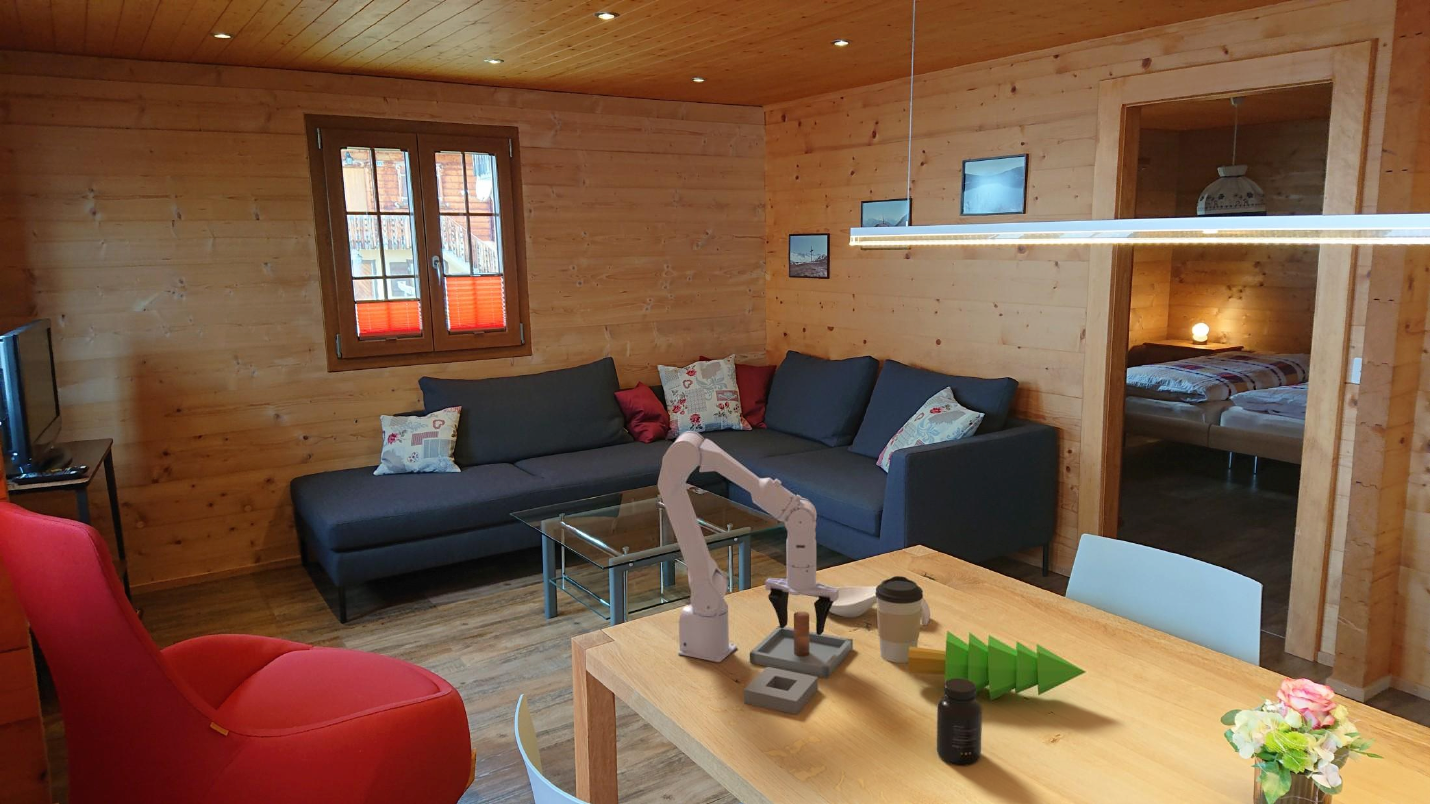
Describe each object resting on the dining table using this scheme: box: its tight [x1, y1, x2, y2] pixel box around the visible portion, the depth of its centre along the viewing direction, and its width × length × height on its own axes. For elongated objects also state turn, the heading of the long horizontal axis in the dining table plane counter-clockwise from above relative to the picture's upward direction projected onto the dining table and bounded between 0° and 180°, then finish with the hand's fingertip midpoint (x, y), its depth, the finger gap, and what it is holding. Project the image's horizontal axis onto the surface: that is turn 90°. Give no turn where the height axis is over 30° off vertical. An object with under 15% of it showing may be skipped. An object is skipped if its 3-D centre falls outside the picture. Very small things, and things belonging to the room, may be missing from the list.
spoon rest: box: [829, 585, 931, 626], centre depth 205 cm, size 24×12×7 cm, turn 68°
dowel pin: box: [793, 611, 810, 656], centre depth 186 cm, size 3×3×8 cm
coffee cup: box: [875, 575, 924, 664], centre depth 185 cm, size 9×9×15 cm
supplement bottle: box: [936, 678, 983, 767], centre depth 149 cm, size 7×7×12 cm
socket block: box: [743, 666, 819, 716], centre depth 170 cm, size 10×10×2 cm
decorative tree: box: [907, 630, 1086, 701], centre depth 168 cm, size 11×12×30 cm
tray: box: [749, 625, 854, 679], centre depth 186 cm, size 16×14×2 cm
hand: (801, 629), depth 186 cm, fingers open, 7 cm apart
